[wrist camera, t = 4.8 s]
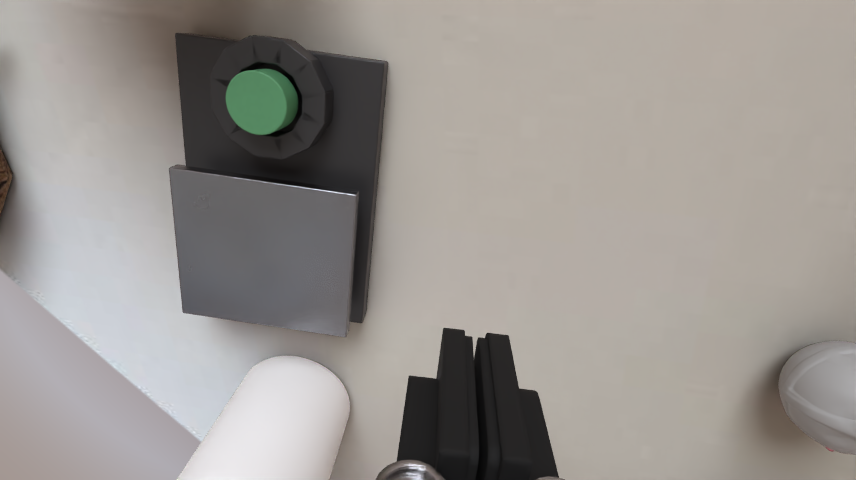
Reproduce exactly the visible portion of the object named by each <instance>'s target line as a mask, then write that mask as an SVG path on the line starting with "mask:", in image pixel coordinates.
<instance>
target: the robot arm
mask: <svg viewBox="0 0 856 480" xmlns="http://www.w3.org/2000/svg"><path fill="white" fill-rule="evenodd" d="M376 480H564V479H562V478H559V476H558V472H557V468H556V464H555V460H554V456H553V452H552V448H551V444H550V440H549V436H548V431H547V427H546V423H545V419H544V415H543V411H542V407H541V403H540V399H539V396H538V393H537V392H536V391H534V390H526V389H519V387H518V381H517V376H516V371H515V366H514V361H513V355H512V350H511V345H510V340H509V336H508V335H501V334H493V333H487V334H486V337H485V338H478V340H477V345H476V351H475V357H474V356H473V340H472V337H470V336H465V331H464V330H459V329H450V328H444V329H443V334H442V342H441V349H440V356H439V364H438V371H437V378H436V379H433V378H425V377H417V376H409V378H408V385H407V393H406V400H405V407H404V414H403V421H402V428H401V435H400V442H399V449H398V457H397V462H395V463H392V464H390V465H388V466H387V467H385V468H384V469H383V470H382V471H381V472H380V473H379V474H378V476H377V478H376Z"/></svg>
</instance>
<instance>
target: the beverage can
mask: <svg viewBox="0 0 856 480" xmlns="http://www.w3.org/2000/svg"><path fill="white" fill-rule="evenodd" d="M349 414H350V400H349V396H348V393H347V391H346V389H345V387H344V385H343V384H342V382H341V381H340V380H339V379H338V377H337V376H336V375H335V374H334V373H332V372H331V371H330V370H329V369H327V368H326V367H324V366H323V365H321V364H319V363H317V362H315V361H312V360H309V359H306V358H302V357H297V356H277V357H272V358H269V359H266V360H264V361H261V362H260V363H258V364H256V365H255V366H254V367H253V368H251V370H250V371H249V372H248V373H247V374H246V376H245V377H244V379H243V380H242V382H241V383H240V385H239V386H238V388H237V389H236V391H235V392H234V394H233V395H232V397H231V398H230V400H229V402H228V403H227V405H226V406H225V408H224V409H223V411H222V412H221V414H220V415H219V417H218V418H217V420H216V421H215V423H214V424H213V426H212V427H211V429H210V430H209V432H208V433H207V435H206V436H205V438H204V439H203V441H202V442H201V444H200V445H199V447H198V448H197V450H196V451H195V453H194V454H193V456H192V458H191V459H190V460H189V462H188V463H187V465H186V466H185V468H184V469H183V471H182V472H181V474H180V475H179V477H178V478H177V480H329V479H330V476H331V473H332V469H333V466H334V463H335V460H336V457H337V453H338V450H339V447H340V444H341V440H342V437H343V434H344V431H345V428H346V424H347V421H348V418H349Z"/></svg>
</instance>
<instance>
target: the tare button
mask: <svg viewBox="0 0 856 480" xmlns="http://www.w3.org/2000/svg"><path fill="white" fill-rule="evenodd" d="M226 105H227V109H228V112H229V114H230V116H231V117H232V119H233V120H234V122H235V123H236V124H237V125H238V126H239V127H241V128H242V129H243V130H245V131H247V132H249V133H251V134H255V135H267V134H271V133H273V132H275V131H278V130H280V129H282V128H284V127H286V126H288V125H289V124H290V123H291V122H292V121H293V120H294V118H295V116H296V114H297V111H298V96H297V93H296V90H295V88H294V86H293V85H292V83H291V82H290V81H289V80H288V78H287V77H285V76H284V75H283V74H281V73H280V72H278V71H275V70H272V69H256V70H247V71H243V72H241V73H239V74H237V75H236V76H235V77H234V78H233V79H232V80H231V81H230V83H229V85H228V87H227V91H226Z"/></svg>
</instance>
